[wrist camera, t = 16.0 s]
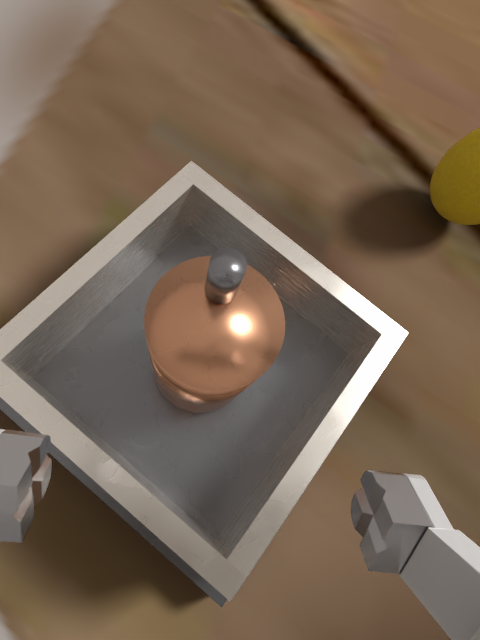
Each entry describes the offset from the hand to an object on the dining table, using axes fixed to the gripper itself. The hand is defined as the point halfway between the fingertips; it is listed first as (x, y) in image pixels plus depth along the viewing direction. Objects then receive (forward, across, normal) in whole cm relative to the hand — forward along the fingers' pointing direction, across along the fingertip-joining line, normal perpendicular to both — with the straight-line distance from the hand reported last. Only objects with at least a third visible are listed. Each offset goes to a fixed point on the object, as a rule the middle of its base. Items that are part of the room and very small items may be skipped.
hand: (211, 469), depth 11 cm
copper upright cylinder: (+11, 0, +4) cm, 12 cm away
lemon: (+23, -16, -5) cm, 28 cm away
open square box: (+12, 0, +5) cm, 13 cm away
